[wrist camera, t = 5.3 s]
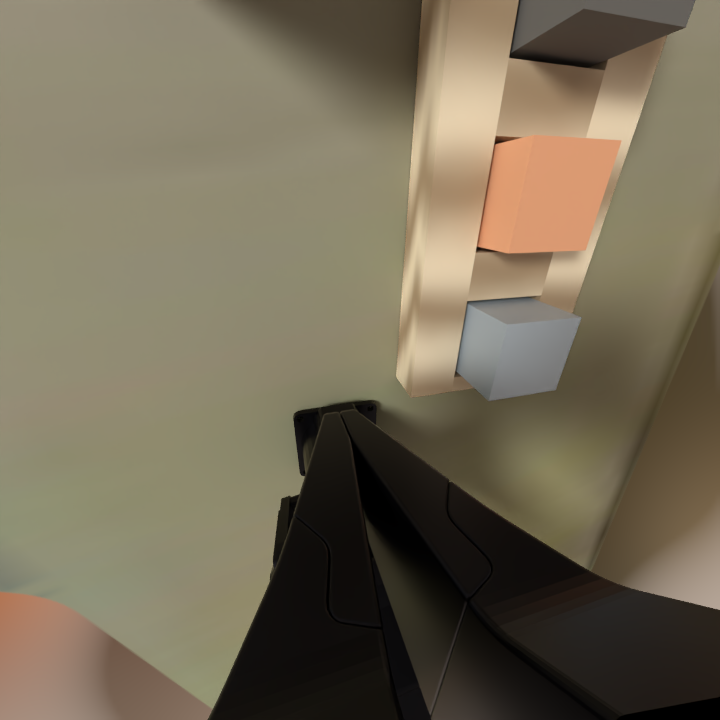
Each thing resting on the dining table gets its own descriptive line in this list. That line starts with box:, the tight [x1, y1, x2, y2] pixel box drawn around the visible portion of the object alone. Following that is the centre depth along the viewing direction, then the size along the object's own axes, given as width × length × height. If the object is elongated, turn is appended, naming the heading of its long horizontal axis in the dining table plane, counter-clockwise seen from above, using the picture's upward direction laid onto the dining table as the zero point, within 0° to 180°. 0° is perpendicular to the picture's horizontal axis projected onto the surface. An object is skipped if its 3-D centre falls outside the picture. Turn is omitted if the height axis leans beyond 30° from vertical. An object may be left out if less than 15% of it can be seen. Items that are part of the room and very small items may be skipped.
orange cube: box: [477, 135, 622, 254], centre depth 17 cm, size 5×5×5 cm
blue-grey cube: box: [455, 297, 582, 401], centre depth 20 cm, size 5×5×5 cm
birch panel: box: [396, 0, 667, 398], centre depth 19 cm, size 25×12×3 cm, turn 0°
